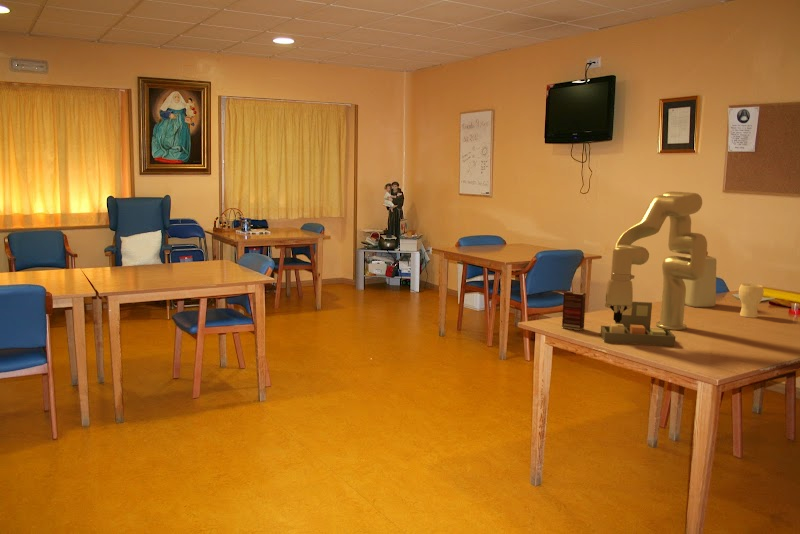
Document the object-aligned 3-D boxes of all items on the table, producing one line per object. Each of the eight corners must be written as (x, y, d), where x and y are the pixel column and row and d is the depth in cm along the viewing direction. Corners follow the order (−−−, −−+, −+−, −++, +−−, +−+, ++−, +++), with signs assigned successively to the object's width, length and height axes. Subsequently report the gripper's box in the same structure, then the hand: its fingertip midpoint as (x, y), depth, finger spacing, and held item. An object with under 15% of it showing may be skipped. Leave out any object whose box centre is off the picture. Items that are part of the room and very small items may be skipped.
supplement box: (584, 328, 301) (586, 292, 299) (580, 331, 297) (583, 294, 295) (564, 326, 306) (566, 290, 303) (561, 328, 302) (563, 292, 299)
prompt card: (614, 333, 295) (616, 300, 293) (648, 335, 293) (651, 302, 291) (615, 333, 294) (617, 301, 292) (649, 335, 292) (652, 303, 290)
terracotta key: (629, 332, 286) (630, 324, 285) (642, 333, 285) (642, 325, 285) (631, 335, 281) (632, 327, 280) (644, 336, 280) (645, 328, 280)
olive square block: (649, 336, 285) (650, 328, 284) (662, 337, 284) (662, 329, 284) (652, 340, 280) (652, 331, 279) (665, 340, 279) (665, 332, 279)
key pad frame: (600, 335, 291) (601, 325, 291) (667, 338, 287) (668, 329, 287) (604, 342, 279) (605, 332, 279) (674, 346, 276) (675, 336, 275)
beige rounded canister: (719, 307, 355) (724, 252, 350) (693, 307, 351) (697, 252, 347) (699, 301, 369) (704, 248, 365) (674, 301, 366) (679, 249, 361)
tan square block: (609, 331, 287) (610, 323, 286) (622, 332, 286) (622, 324, 286) (611, 334, 282) (611, 326, 282) (624, 335, 281) (624, 326, 281)
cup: (766, 317, 332) (769, 286, 330) (749, 319, 328) (752, 287, 326) (747, 313, 342) (750, 282, 339) (731, 314, 338) (734, 283, 336)
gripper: (638, 277, 283) (634, 321, 286) (600, 275, 285) (597, 318, 288) (641, 280, 276) (638, 325, 279) (602, 278, 278) (599, 322, 281)
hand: (617, 321), depth 283 cm, fingers closed
